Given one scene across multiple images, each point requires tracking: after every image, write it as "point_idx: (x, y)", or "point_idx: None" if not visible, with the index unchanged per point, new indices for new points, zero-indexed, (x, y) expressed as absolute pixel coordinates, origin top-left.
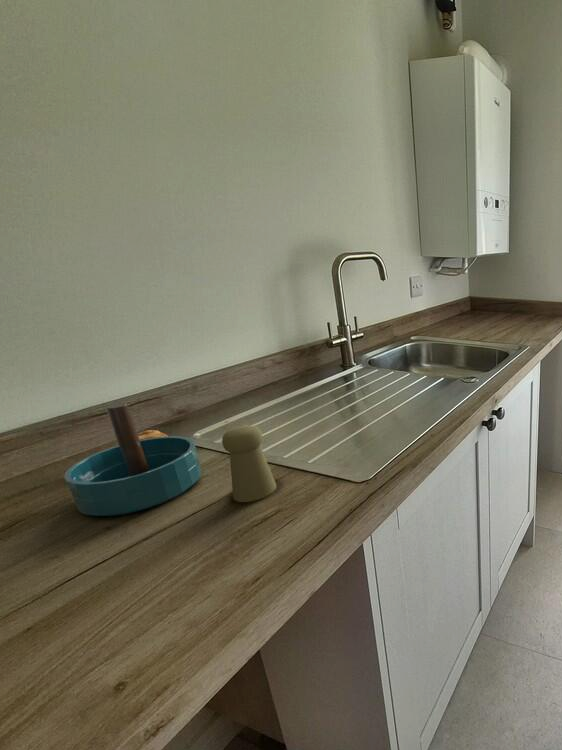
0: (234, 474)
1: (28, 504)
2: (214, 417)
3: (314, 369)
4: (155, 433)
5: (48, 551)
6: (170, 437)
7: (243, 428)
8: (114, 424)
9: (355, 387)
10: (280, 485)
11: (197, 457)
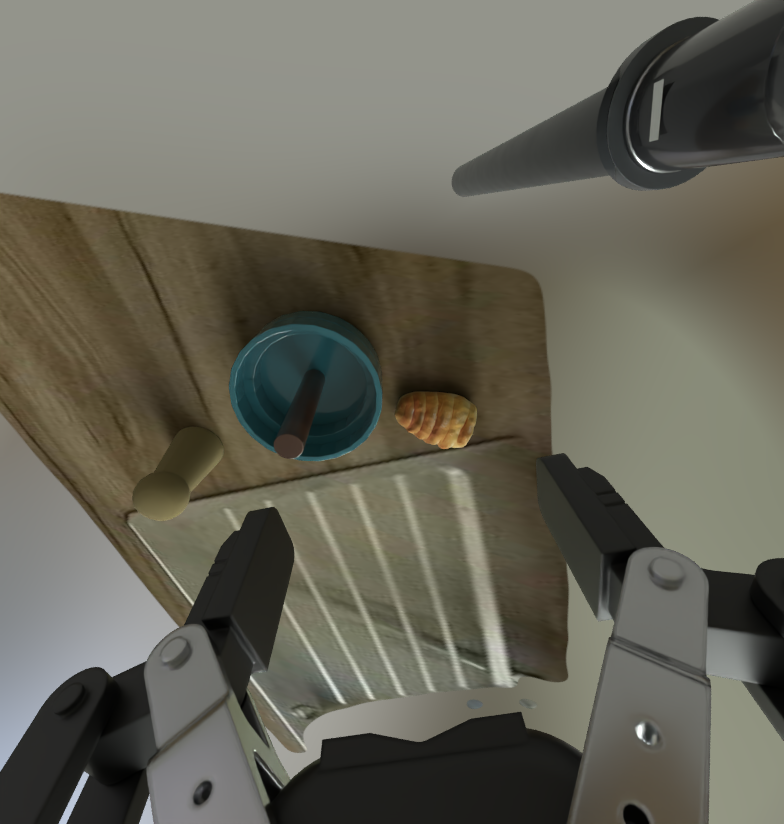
0: (173, 451)
1: (410, 274)
2: (501, 506)
3: (564, 653)
4: (448, 442)
5: (235, 264)
6: (347, 448)
7: (151, 510)
8: (286, 420)
9: (422, 642)
10: None
11: None
